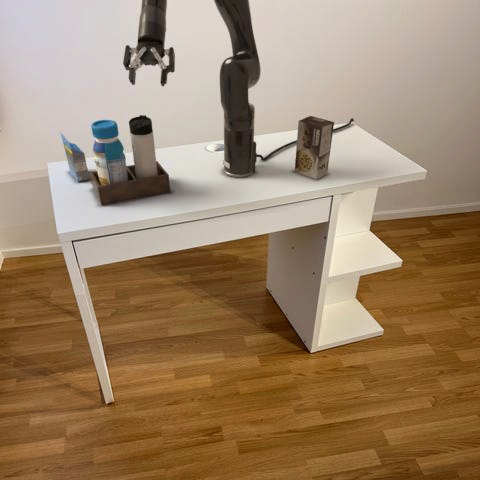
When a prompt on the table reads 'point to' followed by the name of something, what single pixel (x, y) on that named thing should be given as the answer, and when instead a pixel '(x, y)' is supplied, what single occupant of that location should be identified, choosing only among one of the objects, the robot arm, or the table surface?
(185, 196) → the table surface
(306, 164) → the coffee box
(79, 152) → the blue hanging retail box
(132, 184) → the caddy
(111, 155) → the beverage bottle
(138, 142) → the travel mug
